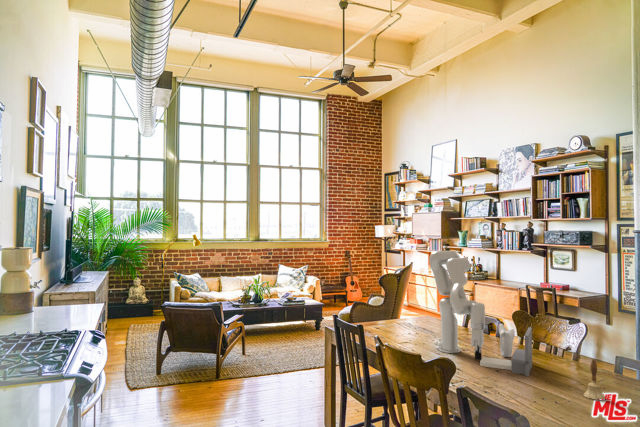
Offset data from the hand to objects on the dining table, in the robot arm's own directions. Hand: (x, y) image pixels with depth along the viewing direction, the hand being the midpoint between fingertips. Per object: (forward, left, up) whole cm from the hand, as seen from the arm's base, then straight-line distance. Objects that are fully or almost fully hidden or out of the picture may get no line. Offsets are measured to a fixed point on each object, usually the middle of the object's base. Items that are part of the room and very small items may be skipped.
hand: (478, 359), depth 233 cm
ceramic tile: (+10, 0, -2) cm, 10 cm away
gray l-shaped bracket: (+22, 0, -2) cm, 22 cm away
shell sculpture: (+12, +20, -2) cm, 23 cm away
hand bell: (+53, -24, -2) cm, 58 cm away
